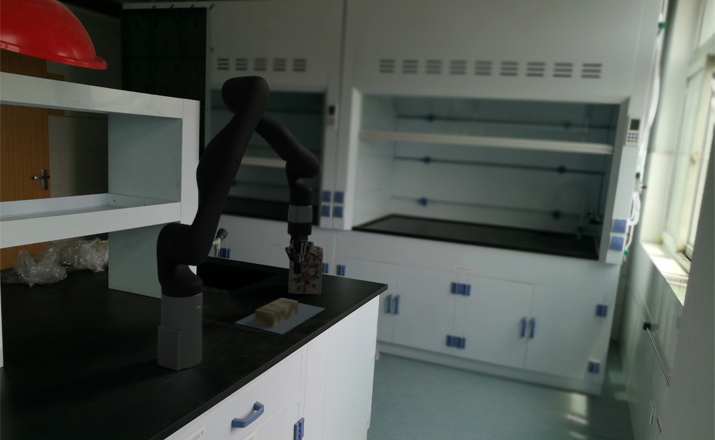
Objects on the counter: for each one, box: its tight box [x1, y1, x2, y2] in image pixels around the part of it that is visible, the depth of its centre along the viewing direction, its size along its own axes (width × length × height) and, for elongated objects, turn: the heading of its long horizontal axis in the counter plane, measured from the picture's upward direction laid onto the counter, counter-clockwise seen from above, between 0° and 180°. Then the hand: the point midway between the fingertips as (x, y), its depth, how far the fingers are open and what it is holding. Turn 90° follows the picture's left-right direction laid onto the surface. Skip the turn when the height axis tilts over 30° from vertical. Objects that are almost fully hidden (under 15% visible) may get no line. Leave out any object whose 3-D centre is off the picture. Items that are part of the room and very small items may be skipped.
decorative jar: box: [287, 240, 324, 295], centre depth 185 cm, size 12×12×18 cm
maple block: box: [254, 297, 299, 327], centre depth 155 cm, size 4×6×14 cm
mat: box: [234, 302, 326, 337], centre depth 158 cm, size 26×16×1 cm, turn 157°
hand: (297, 273), depth 163 cm, fingers closed
